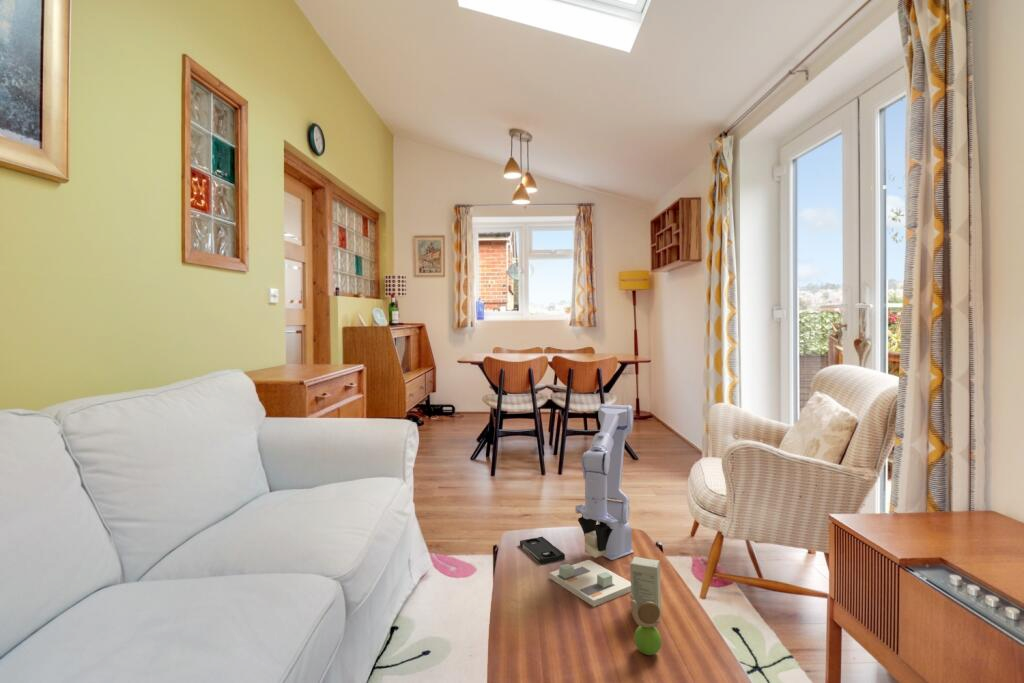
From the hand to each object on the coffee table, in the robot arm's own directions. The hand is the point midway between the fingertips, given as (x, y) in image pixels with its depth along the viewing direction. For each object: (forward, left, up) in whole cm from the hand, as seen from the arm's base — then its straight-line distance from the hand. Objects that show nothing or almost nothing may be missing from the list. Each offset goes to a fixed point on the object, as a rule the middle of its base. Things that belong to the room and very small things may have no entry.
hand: (596, 547), depth 133 cm
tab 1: (+8, -3, -7) cm, 11 cm away
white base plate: (+3, +1, -8) cm, 9 cm away
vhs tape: (+2, -21, -9) cm, 23 cm away
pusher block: (0, 0, -2) cm, 2 cm away
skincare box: (+2, +19, -9) cm, 21 cm away
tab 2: (+3, +6, -7) cm, 9 cm away
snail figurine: (+13, +29, -9) cm, 33 cm away
